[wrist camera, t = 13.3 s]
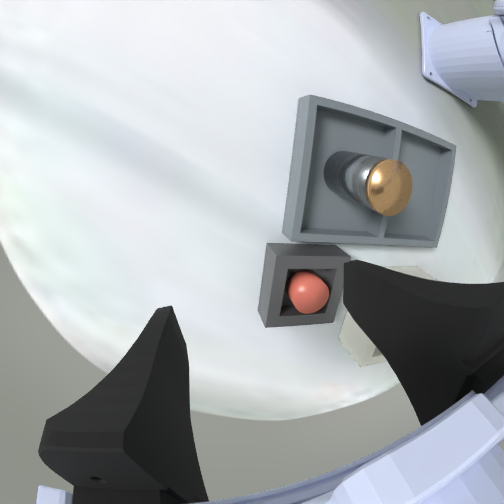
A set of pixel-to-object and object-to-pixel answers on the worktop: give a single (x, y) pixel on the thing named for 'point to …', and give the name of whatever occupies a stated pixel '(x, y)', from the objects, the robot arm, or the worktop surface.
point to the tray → (371, 143)
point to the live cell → (369, 181)
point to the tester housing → (287, 263)
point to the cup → (358, 340)
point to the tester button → (307, 291)
